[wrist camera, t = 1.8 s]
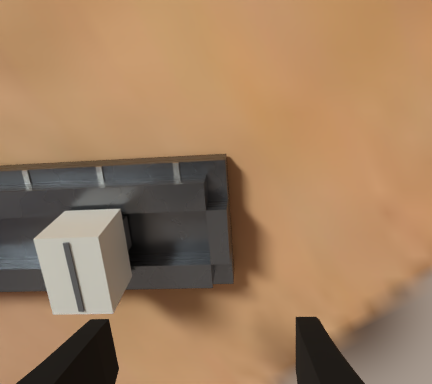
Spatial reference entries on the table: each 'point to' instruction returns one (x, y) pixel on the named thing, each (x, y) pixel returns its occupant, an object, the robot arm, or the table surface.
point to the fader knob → (85, 260)
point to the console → (136, 215)
